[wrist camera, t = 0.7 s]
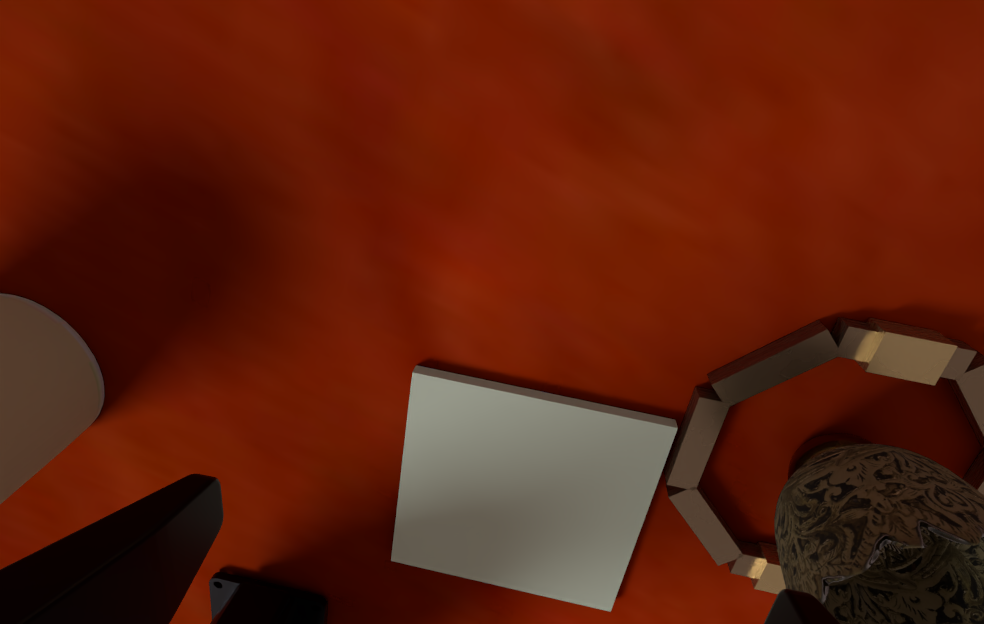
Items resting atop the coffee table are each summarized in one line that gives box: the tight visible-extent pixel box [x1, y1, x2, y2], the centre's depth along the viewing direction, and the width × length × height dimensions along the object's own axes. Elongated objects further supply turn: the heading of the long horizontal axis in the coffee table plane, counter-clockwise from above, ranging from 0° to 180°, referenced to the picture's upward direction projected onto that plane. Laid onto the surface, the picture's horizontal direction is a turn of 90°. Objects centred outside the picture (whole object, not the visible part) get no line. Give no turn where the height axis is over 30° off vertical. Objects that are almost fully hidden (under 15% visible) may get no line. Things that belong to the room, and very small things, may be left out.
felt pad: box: [391, 365, 678, 612], centre depth 25 cm, size 11×11×1 cm
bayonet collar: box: [664, 317, 984, 594], centre depth 22 cm, size 13×12×1 cm
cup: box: [775, 433, 984, 624], centre depth 19 cm, size 8×7×8 cm
